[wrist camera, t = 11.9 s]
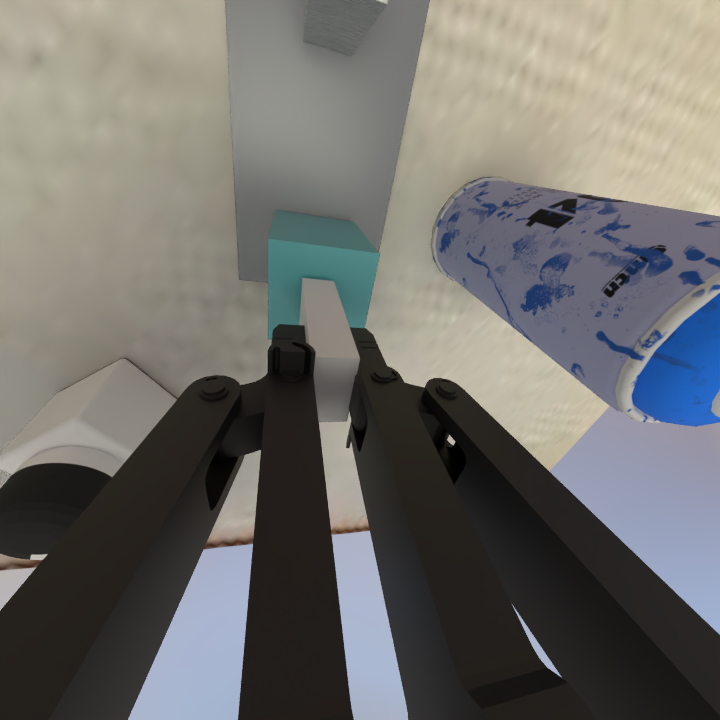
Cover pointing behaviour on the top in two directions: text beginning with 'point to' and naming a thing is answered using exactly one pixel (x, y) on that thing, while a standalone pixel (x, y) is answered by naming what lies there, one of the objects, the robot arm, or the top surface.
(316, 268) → the teal rectangular block
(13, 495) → the medicine bottle
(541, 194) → the aerosol can
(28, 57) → the top surface
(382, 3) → the grey post
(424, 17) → the board
